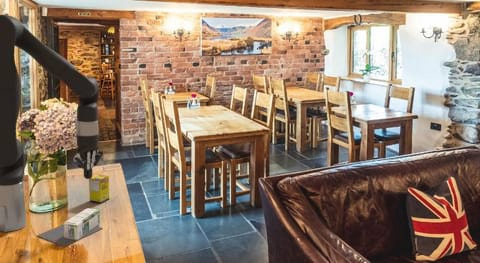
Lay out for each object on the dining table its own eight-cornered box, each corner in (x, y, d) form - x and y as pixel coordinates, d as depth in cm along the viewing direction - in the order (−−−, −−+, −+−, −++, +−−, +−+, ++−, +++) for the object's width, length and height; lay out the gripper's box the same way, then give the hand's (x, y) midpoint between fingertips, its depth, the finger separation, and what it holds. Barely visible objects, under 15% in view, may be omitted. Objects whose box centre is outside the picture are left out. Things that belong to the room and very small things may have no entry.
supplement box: (109, 199, 185) (109, 175, 183) (100, 204, 180) (100, 179, 177) (98, 197, 187) (97, 173, 185) (89, 201, 182) (88, 177, 179)
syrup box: (100, 223, 160) (78, 240, 146) (86, 221, 161) (63, 238, 148) (100, 209, 159) (77, 225, 145) (86, 207, 160) (62, 222, 146)
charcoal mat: (64, 246, 142) (64, 246, 142) (37, 236, 149) (37, 235, 149) (102, 228, 157) (102, 228, 157) (76, 219, 163) (76, 219, 163)
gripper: (94, 128, 160) (94, 172, 164) (65, 133, 149) (66, 180, 152) (108, 131, 157) (108, 176, 160) (80, 137, 145) (80, 185, 149)
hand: (88, 178), depth 156 cm, fingers closed
